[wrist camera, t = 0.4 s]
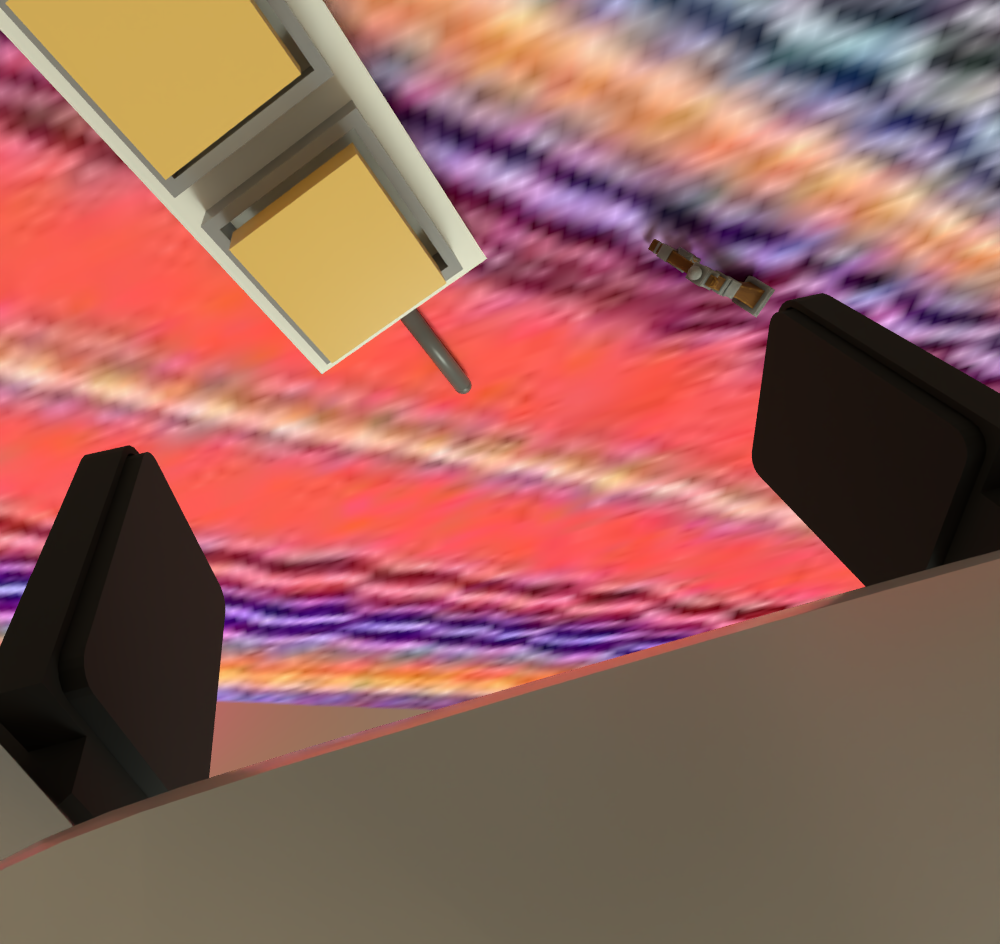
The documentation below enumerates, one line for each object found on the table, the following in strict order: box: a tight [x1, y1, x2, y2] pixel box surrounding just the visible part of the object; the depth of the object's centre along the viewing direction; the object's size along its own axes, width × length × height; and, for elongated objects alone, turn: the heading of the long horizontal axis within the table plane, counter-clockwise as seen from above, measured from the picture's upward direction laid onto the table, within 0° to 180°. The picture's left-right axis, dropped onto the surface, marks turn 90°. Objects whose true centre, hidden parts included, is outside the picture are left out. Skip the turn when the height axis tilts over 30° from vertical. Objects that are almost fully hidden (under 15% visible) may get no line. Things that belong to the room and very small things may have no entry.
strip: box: [0, 0, 487, 394], centre depth 28 cm, size 10×35×5 cm, turn 31°
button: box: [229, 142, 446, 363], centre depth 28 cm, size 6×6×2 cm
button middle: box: [5, 0, 301, 180], centre depth 23 cm, size 6×6×2 cm
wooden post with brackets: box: [648, 239, 775, 317], centre depth 39 cm, size 2×8×4 cm, turn 63°
